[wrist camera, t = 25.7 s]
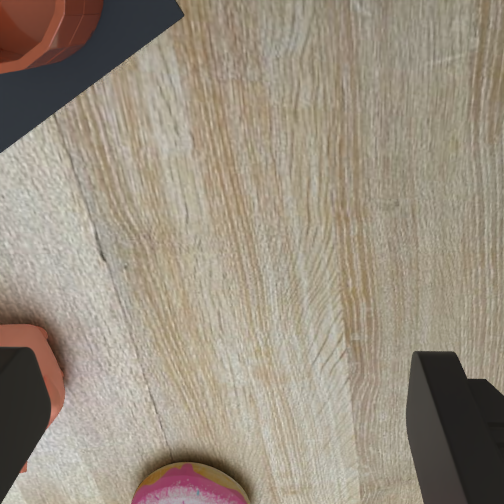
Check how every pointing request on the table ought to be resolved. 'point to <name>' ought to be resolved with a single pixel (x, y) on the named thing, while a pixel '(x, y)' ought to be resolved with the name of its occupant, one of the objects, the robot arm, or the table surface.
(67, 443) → the table surface
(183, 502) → the donut
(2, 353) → the robot arm
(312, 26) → the table surface
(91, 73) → the mat
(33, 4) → the bowl
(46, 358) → the teapot
